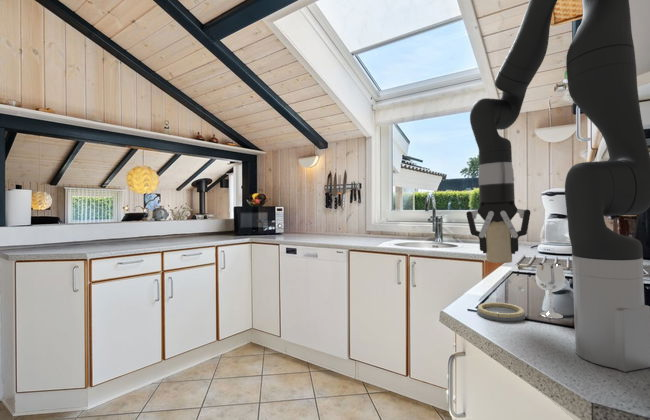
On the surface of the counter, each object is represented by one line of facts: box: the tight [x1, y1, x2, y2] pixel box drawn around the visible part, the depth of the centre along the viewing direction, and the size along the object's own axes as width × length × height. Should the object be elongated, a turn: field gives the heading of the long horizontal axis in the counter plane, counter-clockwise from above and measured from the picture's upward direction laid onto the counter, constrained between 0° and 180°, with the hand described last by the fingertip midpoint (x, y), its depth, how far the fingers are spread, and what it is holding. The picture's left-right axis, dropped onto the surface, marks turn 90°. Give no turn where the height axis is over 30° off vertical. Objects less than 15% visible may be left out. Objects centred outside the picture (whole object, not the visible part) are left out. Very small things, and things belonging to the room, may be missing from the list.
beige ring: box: [476, 302, 526, 323], centre depth 82 cm, size 10×10×2 cm
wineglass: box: [535, 262, 566, 320], centre depth 80 cm, size 6×6×12 cm
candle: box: [485, 221, 513, 264], centre depth 82 cm, size 6×6×10 cm
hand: (498, 253), depth 82 cm, fingers closed on candle, 5 cm apart
